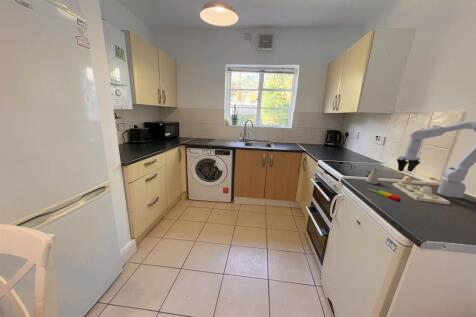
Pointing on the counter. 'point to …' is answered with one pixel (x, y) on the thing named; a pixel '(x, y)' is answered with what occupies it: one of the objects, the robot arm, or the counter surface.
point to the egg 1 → (407, 180)
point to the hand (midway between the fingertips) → (404, 171)
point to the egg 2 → (426, 190)
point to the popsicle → (387, 195)
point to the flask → (373, 176)
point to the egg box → (420, 194)
